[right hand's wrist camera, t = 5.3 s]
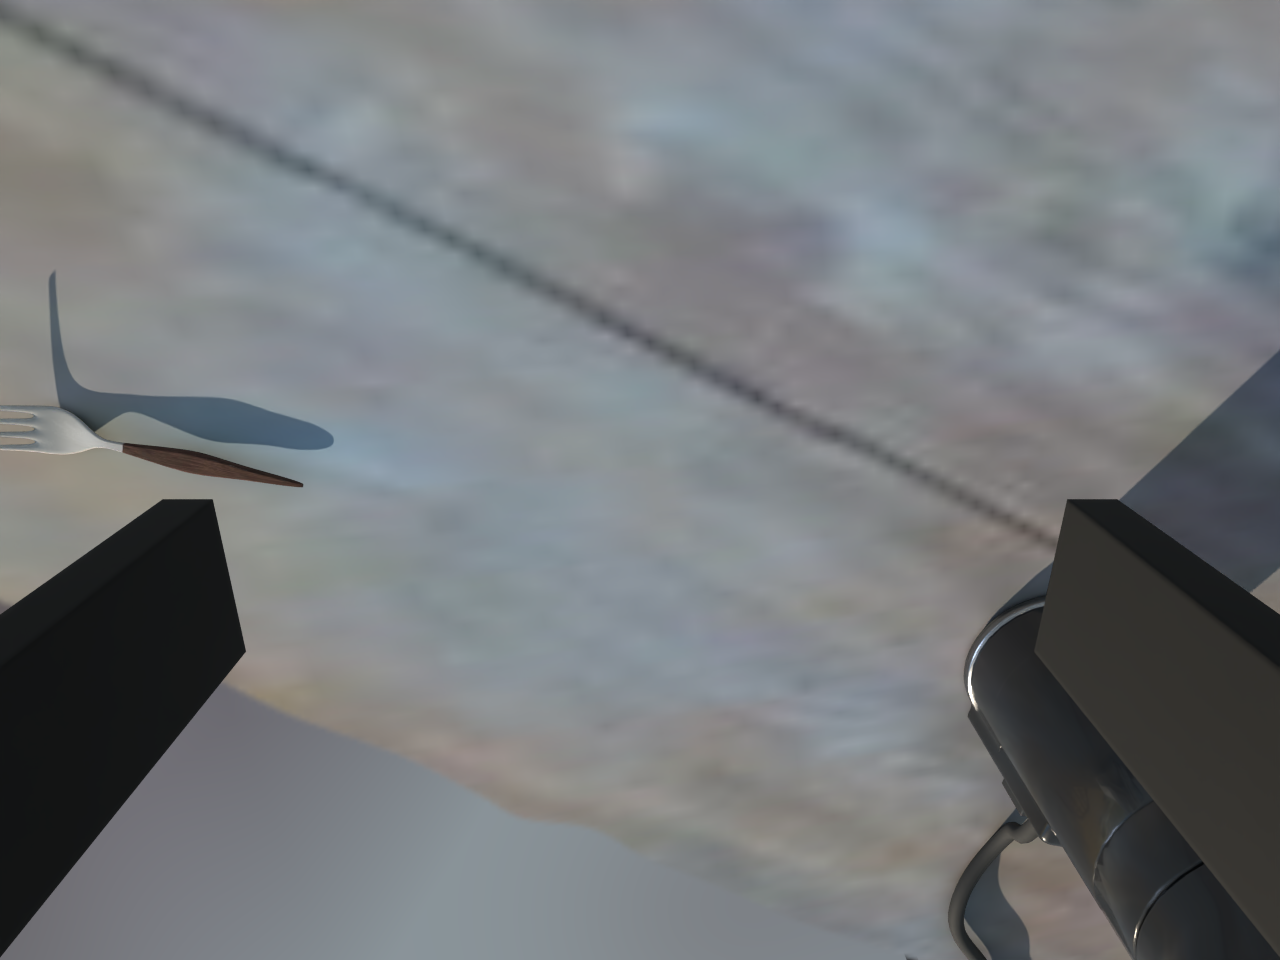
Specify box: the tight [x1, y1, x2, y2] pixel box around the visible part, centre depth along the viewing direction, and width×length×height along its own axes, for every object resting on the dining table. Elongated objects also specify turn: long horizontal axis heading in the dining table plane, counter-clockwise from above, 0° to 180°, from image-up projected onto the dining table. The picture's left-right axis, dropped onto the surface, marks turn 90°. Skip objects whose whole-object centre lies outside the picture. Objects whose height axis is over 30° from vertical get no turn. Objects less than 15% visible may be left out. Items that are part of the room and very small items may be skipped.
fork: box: [0, 405, 303, 487], centre depth 40 cm, size 3×16×2 cm, turn 77°
